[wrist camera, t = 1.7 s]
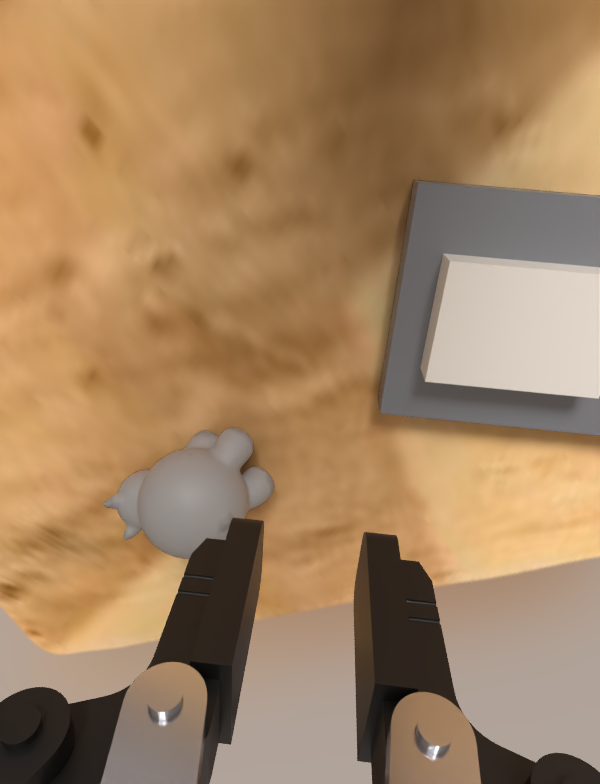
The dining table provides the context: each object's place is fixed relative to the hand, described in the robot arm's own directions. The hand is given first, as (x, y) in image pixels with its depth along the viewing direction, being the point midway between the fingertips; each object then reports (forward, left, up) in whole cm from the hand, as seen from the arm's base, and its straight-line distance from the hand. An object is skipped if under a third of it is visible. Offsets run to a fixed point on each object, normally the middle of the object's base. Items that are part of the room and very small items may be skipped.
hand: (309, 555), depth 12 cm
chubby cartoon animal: (+14, -9, -22) cm, 28 cm away
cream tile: (0, +11, -19) cm, 22 cm away
